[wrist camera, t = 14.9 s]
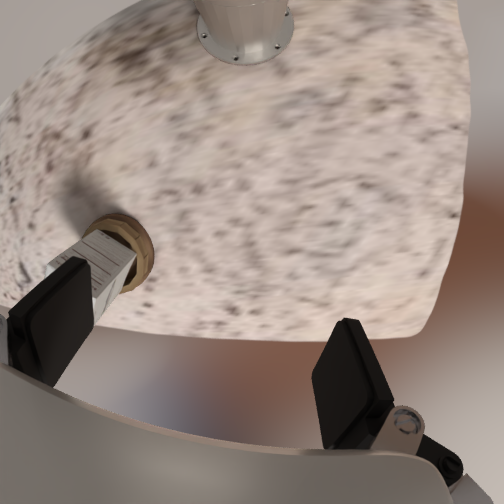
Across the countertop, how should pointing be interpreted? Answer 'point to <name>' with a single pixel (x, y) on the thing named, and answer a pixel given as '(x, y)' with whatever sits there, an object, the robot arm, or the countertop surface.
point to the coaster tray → (128, 245)
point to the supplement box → (100, 267)
